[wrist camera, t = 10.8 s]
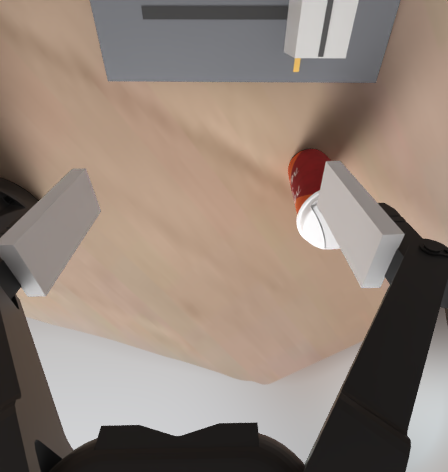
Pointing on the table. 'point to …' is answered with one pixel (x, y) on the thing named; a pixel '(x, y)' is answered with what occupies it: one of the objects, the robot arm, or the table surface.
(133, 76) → the gray slider panel
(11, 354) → the robot arm
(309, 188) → the paper cup
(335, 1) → the fader
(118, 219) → the table surface
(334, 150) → the table surface
